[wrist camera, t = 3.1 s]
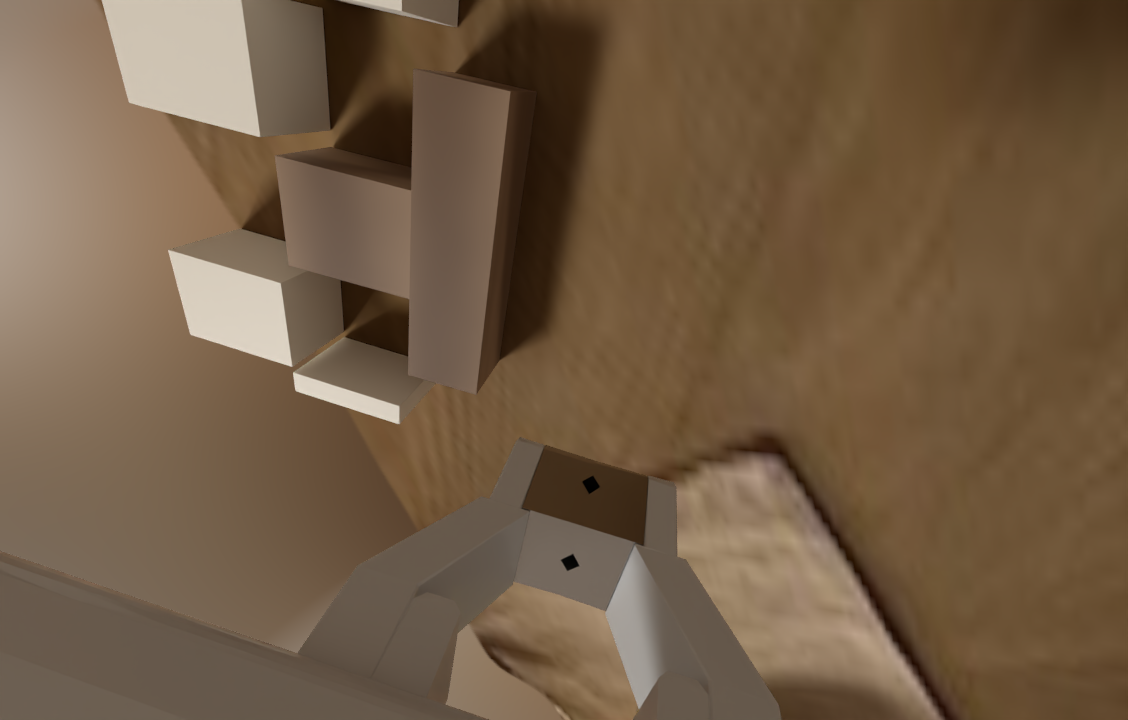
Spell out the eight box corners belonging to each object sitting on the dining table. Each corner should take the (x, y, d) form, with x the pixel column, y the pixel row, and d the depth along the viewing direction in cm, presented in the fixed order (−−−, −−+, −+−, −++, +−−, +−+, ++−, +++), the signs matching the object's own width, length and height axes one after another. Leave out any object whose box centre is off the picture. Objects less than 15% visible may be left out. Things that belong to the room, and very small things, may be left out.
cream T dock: (459, -11, 15) (402, -37, 12) (436, 382, 23) (399, 424, 20) (188, -69, 16) (73, -106, 13) (257, 327, 24) (196, 359, 21)
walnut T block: (537, 91, 16) (510, 91, 13) (499, 359, 22) (476, 394, 19) (323, 41, 17) (258, 32, 14) (341, 314, 22) (298, 342, 20)
